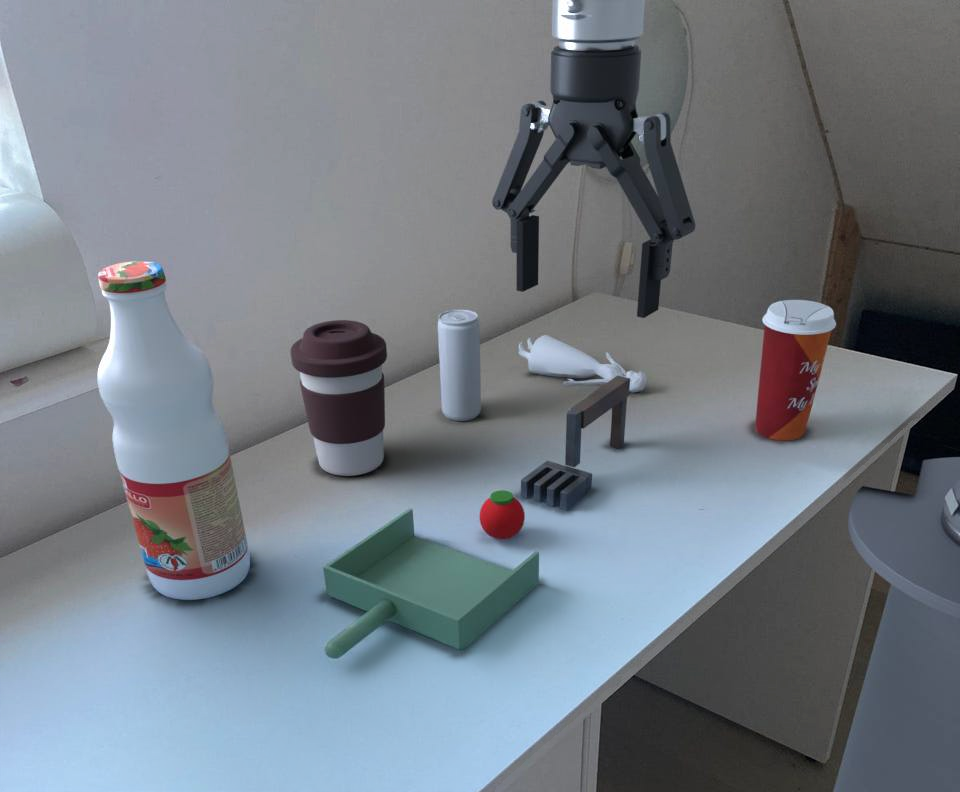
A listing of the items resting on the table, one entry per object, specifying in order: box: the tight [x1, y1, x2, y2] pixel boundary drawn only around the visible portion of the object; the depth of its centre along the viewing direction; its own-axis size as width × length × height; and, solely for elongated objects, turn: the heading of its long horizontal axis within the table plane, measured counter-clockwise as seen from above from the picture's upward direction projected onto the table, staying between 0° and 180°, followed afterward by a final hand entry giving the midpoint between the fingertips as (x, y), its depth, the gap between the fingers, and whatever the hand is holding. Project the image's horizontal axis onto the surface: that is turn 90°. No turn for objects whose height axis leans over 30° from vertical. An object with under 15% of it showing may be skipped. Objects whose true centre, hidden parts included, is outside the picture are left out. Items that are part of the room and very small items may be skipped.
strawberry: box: [478, 489, 526, 540], centre depth 95 cm, size 4×4×4 cm
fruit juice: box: [96, 260, 251, 601], centre depth 84 cm, size 9×9×28 cm
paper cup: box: [755, 299, 837, 442], centre depth 109 cm, size 8×8×14 cm
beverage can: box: [437, 309, 482, 422], centre depth 115 cm, size 5×5×12 cm
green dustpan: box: [322, 507, 540, 660], centre depth 85 cm, size 20×15×3 cm
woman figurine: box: [517, 334, 648, 394], centre depth 126 cm, size 12×4×18 cm
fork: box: [520, 376, 630, 511], centre depth 104 cm, size 16×6×8 cm, turn 145°
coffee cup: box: [289, 319, 388, 477], centre depth 105 cm, size 10×10×15 cm
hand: (585, 300), depth 94 cm, fingers open, 13 cm apart
